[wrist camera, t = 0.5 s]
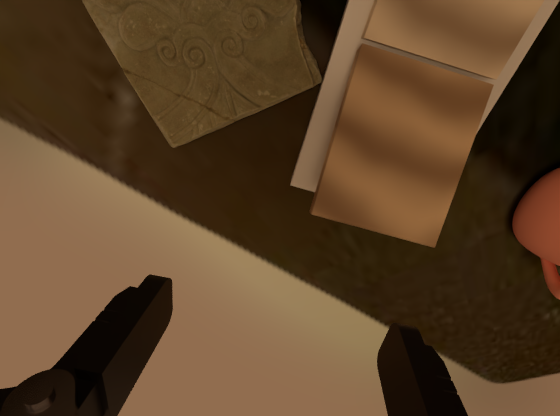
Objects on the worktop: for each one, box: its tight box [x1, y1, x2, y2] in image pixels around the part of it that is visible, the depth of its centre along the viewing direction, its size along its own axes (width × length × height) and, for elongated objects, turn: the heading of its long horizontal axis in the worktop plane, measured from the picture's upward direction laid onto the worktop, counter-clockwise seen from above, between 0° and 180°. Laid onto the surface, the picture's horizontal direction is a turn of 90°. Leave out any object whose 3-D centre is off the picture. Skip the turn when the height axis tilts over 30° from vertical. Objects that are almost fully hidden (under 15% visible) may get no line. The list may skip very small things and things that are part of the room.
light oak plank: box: [361, 0, 544, 80], centre depth 23 cm, size 7×12×2 cm, turn 75°
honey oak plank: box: [309, 43, 494, 248], centre depth 26 cm, size 15×12×2 cm
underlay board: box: [290, 0, 559, 192], centre depth 28 cm, size 22×16×2 cm
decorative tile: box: [82, 0, 322, 148], centre depth 25 cm, size 19×20×4 cm
